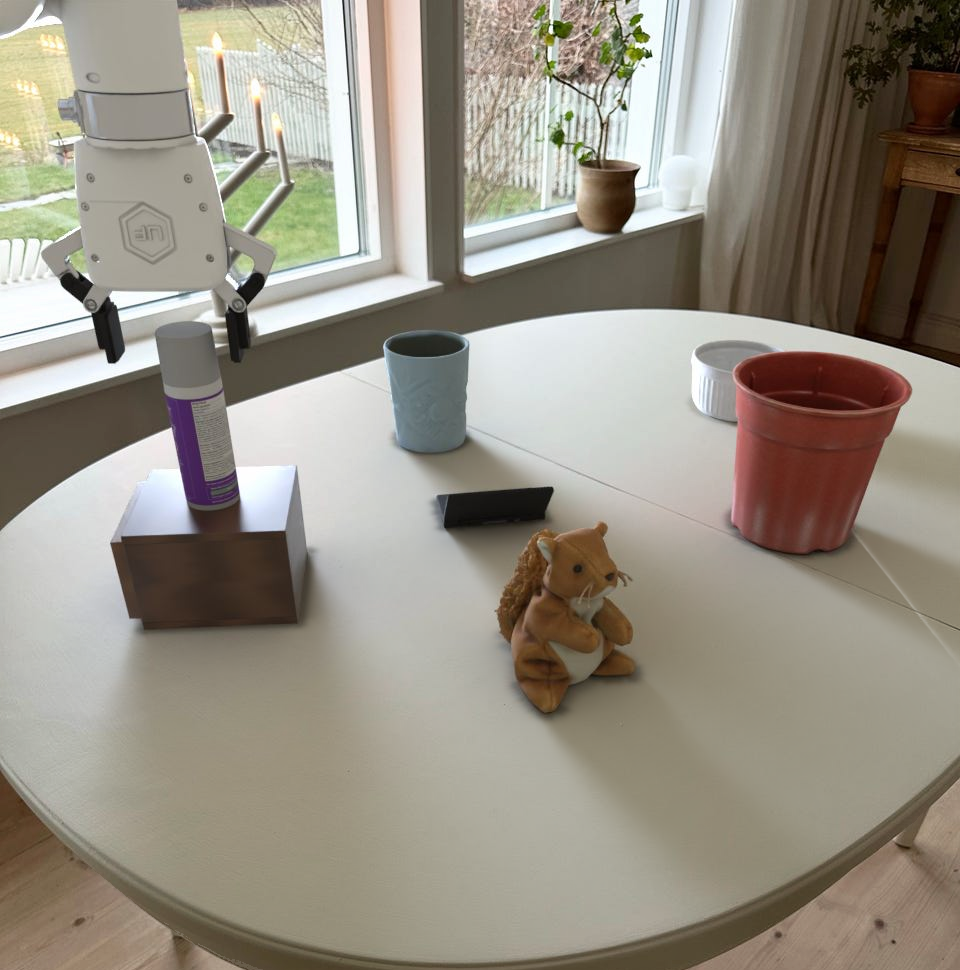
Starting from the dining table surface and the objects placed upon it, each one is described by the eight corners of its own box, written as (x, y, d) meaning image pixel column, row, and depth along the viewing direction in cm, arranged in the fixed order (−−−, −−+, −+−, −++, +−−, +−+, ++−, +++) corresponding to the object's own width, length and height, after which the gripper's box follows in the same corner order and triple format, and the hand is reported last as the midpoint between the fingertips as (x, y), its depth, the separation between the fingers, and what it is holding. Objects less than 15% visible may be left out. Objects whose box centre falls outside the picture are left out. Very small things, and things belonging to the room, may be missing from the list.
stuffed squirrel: (547, 723, 75) (555, 581, 67) (463, 632, 85) (462, 499, 77) (649, 685, 79) (669, 547, 71) (557, 602, 89) (565, 473, 81)
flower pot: (685, 498, 106) (706, 355, 96) (821, 484, 108) (854, 344, 99) (749, 575, 93) (780, 418, 83) (902, 558, 95) (949, 404, 86)
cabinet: (143, 630, 85) (120, 536, 79) (169, 557, 95) (150, 469, 89) (298, 624, 86) (285, 530, 80) (307, 552, 96) (297, 465, 90)
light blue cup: (452, 461, 113) (450, 362, 106) (374, 448, 116) (368, 351, 109) (481, 428, 121) (481, 334, 114) (408, 417, 124) (404, 324, 117)
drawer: (115, 619, 85) (95, 543, 80) (142, 553, 94) (125, 482, 89) (271, 613, 86) (260, 537, 81) (282, 548, 95) (273, 477, 90)
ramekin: (805, 406, 127) (816, 354, 123) (756, 436, 119) (766, 383, 115) (717, 381, 134) (724, 332, 130) (666, 409, 126) (672, 357, 122)
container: (176, 497, 85) (142, 328, 76) (223, 481, 87) (195, 316, 79) (202, 516, 82) (170, 343, 73) (250, 499, 85) (224, 330, 76)
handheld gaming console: (524, 472, 107) (538, 429, 97) (547, 529, 105) (563, 492, 96) (427, 501, 105) (431, 460, 95) (449, 560, 103) (455, 524, 94)
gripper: (-7, 124, 63) (54, 375, 73) (256, 127, 65) (282, 373, 75) (27, 109, 70) (80, 343, 80) (268, 113, 71) (290, 342, 81)
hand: (178, 357), depth 77 cm, fingers open, 9 cm apart
